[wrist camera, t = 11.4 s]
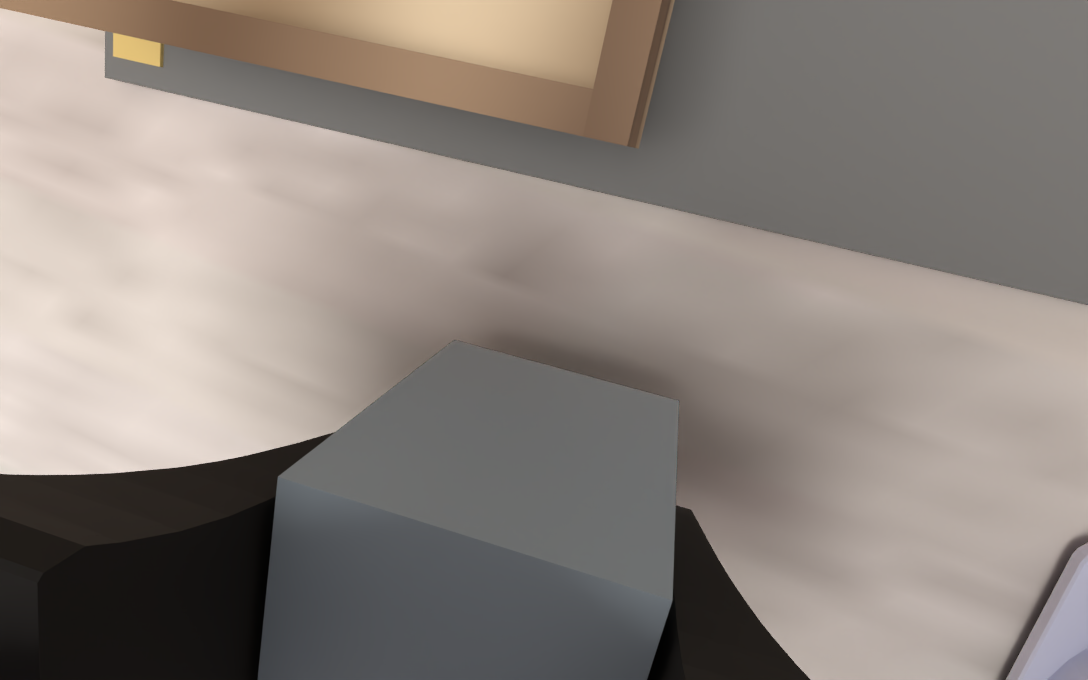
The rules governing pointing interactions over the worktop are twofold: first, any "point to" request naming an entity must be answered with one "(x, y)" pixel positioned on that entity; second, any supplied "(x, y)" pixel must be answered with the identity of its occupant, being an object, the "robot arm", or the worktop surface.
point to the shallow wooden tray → (427, 49)
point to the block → (478, 531)
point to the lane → (786, 127)
